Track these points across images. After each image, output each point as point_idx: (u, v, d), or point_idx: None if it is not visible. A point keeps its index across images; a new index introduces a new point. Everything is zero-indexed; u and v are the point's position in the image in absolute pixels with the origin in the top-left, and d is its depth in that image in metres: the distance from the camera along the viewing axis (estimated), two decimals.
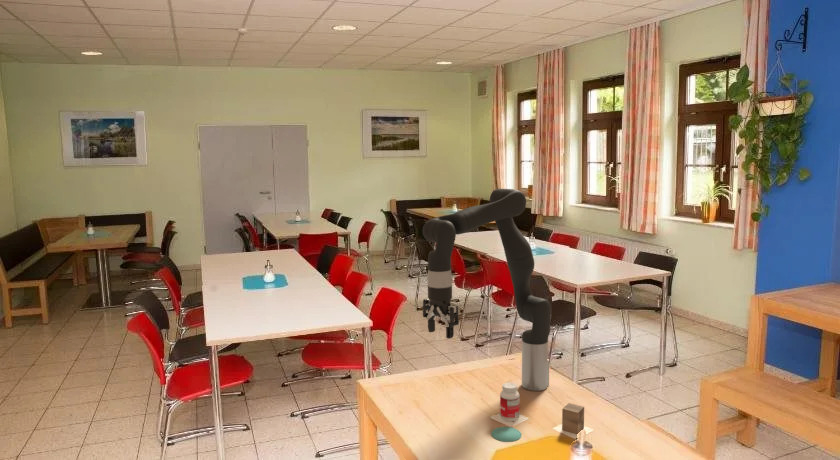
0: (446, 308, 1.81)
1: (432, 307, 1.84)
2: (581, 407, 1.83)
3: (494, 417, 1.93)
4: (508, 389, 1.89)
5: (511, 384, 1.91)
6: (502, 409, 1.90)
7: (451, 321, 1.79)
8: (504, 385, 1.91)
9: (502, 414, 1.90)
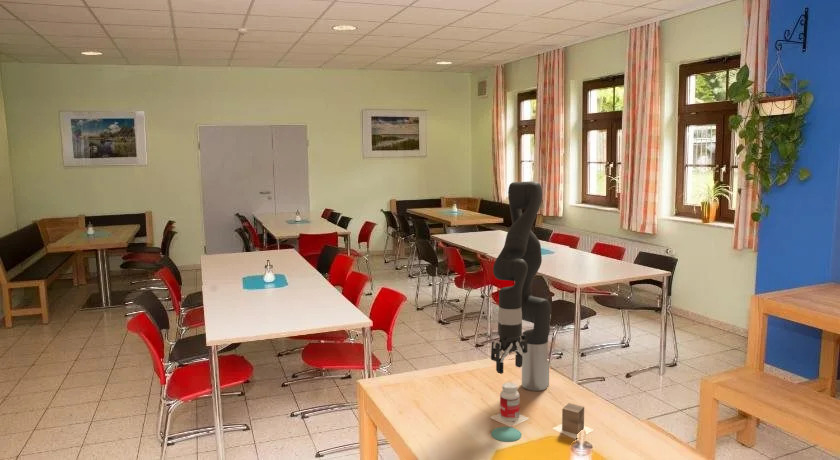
0: (520, 339, 1.90)
1: (511, 345, 1.86)
2: (581, 407, 1.83)
3: (494, 417, 1.93)
4: (508, 389, 1.89)
5: (511, 384, 1.91)
6: (502, 409, 1.90)
7: (526, 348, 1.92)
8: (504, 385, 1.91)
9: (502, 414, 1.90)
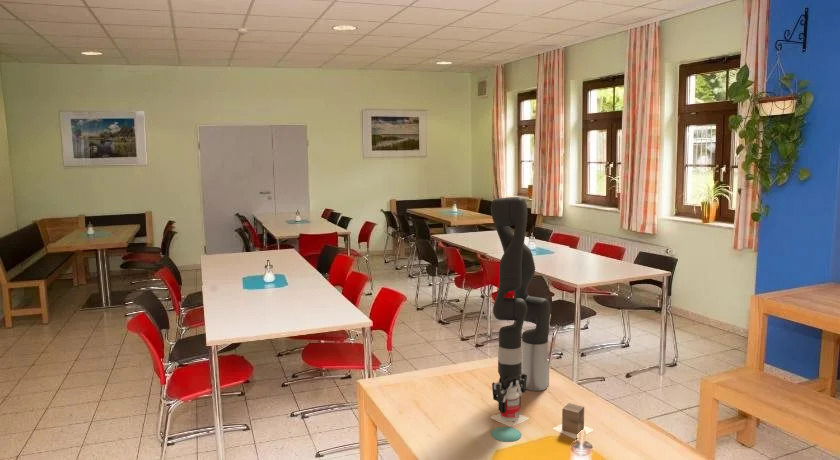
0: None
1: (511, 384, 1.88)
2: (581, 407, 1.83)
3: (494, 417, 1.93)
4: None
5: None
6: None
7: (524, 388, 1.94)
8: None
9: (502, 414, 1.90)
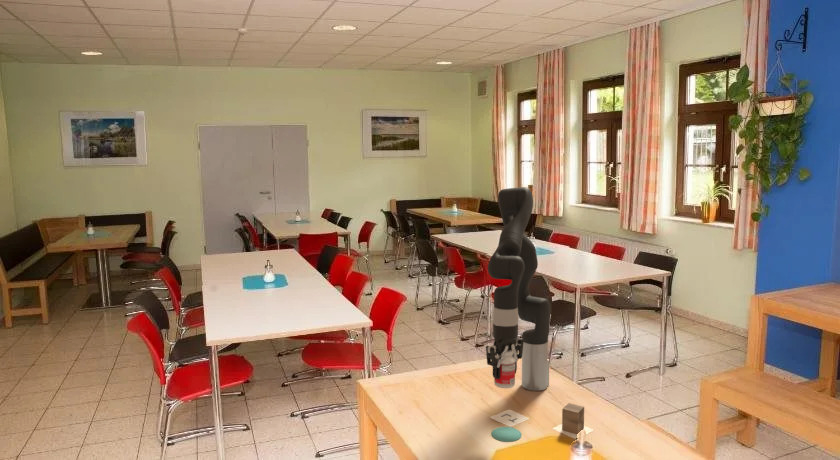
0: (516, 342, 1.80)
1: (506, 348, 1.76)
2: (581, 407, 1.83)
3: (494, 417, 1.93)
4: None
5: None
6: None
7: (521, 353, 1.82)
8: None
9: (496, 380, 1.78)
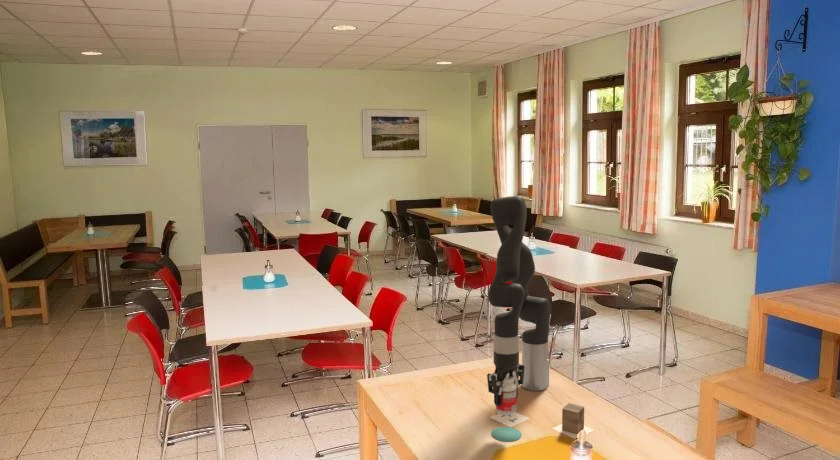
0: (517, 368, 1.80)
1: (507, 375, 1.76)
2: (581, 407, 1.83)
3: (494, 417, 1.93)
4: None
5: None
6: None
7: (522, 379, 1.82)
8: None
9: (498, 407, 1.78)
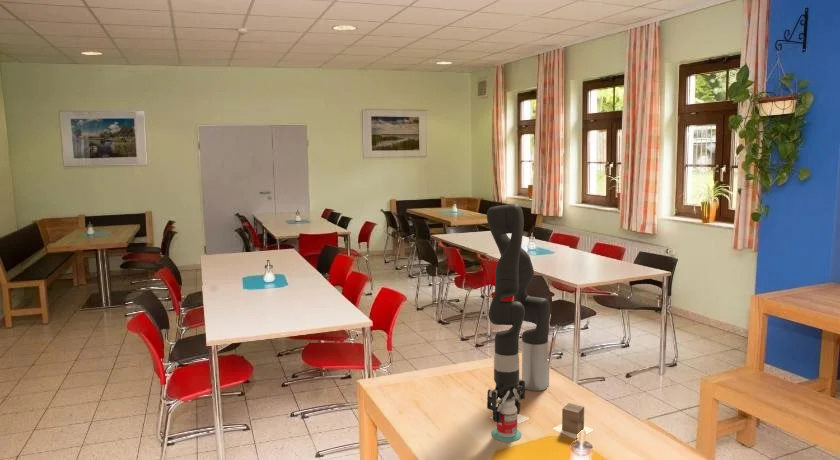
0: (517, 385, 1.81)
1: (508, 392, 1.77)
2: (581, 407, 1.83)
3: None
4: (505, 403, 1.78)
5: None
6: (499, 424, 1.79)
7: (523, 394, 1.83)
8: (501, 399, 1.80)
9: (499, 430, 1.79)
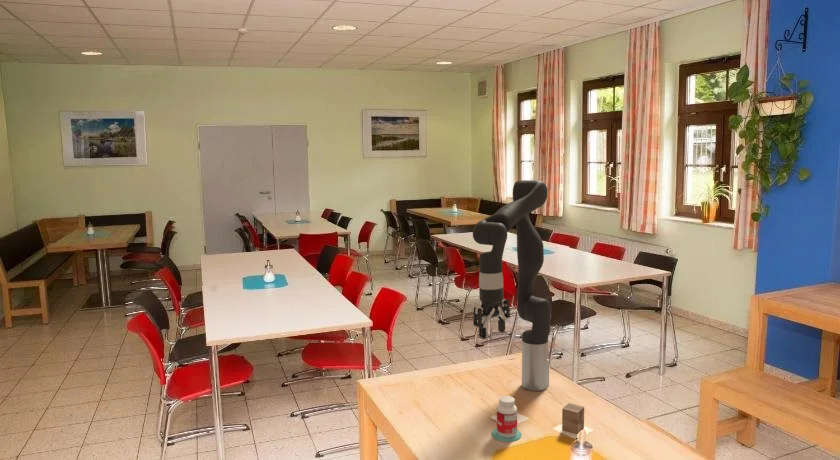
0: (502, 304, 1.89)
1: (493, 310, 1.85)
2: (581, 407, 1.83)
3: (494, 417, 1.93)
4: (505, 403, 1.78)
5: (508, 397, 1.81)
6: (499, 424, 1.79)
7: (508, 313, 1.91)
8: (501, 399, 1.80)
9: (499, 430, 1.79)
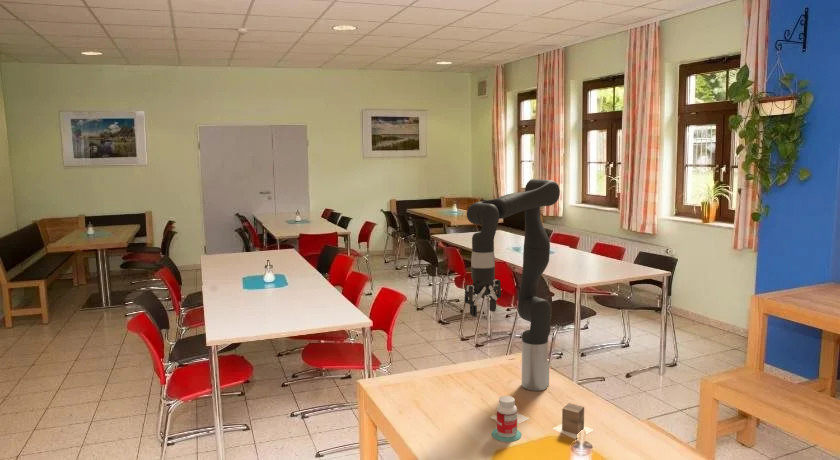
0: (493, 284, 1.95)
1: (484, 288, 1.91)
2: (581, 407, 1.83)
3: (494, 417, 1.93)
4: (505, 403, 1.78)
5: (508, 397, 1.81)
6: (499, 424, 1.79)
7: (499, 293, 1.96)
8: (501, 399, 1.80)
9: (499, 430, 1.79)
